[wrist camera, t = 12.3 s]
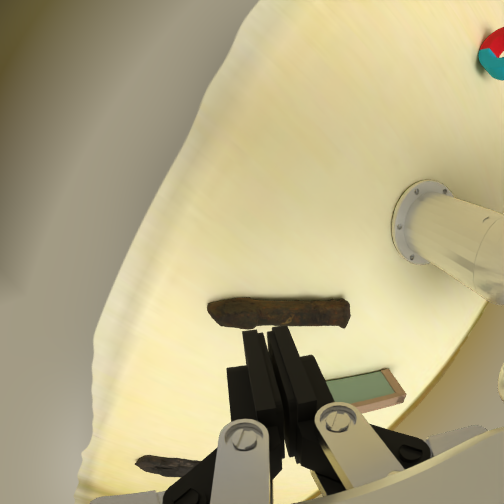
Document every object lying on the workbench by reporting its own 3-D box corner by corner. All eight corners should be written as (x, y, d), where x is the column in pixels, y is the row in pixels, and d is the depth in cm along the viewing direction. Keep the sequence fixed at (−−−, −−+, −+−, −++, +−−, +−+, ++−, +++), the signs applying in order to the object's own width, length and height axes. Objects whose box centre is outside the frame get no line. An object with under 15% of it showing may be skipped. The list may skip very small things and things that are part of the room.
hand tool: (344, 294, 43) (357, 309, 38) (337, 318, 44) (348, 335, 40) (209, 283, 40) (209, 300, 36) (207, 310, 41) (206, 329, 37)
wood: (240, 464, 55) (242, 475, 52) (231, 478, 57) (232, 488, 54) (137, 446, 50) (135, 457, 47) (135, 462, 52) (133, 472, 49)
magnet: (481, 83, 34) (524, 80, 24) (471, 72, 33) (515, 66, 24) (493, 41, 31) (531, 34, 21) (484, 30, 30) (522, 22, 21)
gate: (285, 386, 46) (295, 418, 40) (388, 368, 48) (406, 394, 42) (284, 394, 47) (293, 426, 40) (385, 376, 49) (403, 402, 42)
